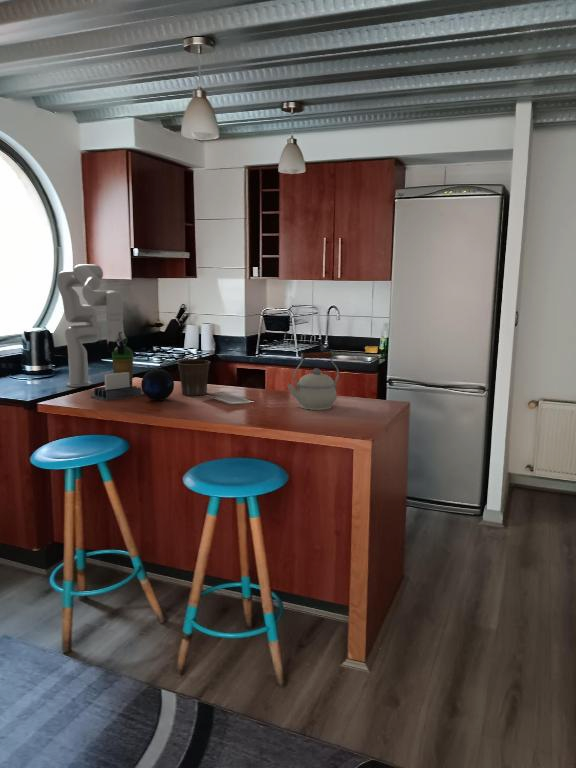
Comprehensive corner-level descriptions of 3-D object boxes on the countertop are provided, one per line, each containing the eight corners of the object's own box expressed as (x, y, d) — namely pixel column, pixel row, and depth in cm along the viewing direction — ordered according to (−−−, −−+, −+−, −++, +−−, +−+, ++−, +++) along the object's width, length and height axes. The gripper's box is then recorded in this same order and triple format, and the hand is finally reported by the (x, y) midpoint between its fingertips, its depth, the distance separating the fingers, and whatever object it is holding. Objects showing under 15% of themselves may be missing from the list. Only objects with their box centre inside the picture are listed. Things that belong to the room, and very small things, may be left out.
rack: (90, 396, 303) (89, 388, 302) (130, 391, 317) (130, 383, 317) (103, 401, 293) (103, 392, 292) (145, 395, 307) (145, 387, 307)
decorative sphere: (138, 403, 288) (137, 371, 285) (145, 397, 302) (144, 366, 300) (171, 403, 288) (171, 371, 286) (176, 397, 303) (175, 366, 300)
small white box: (105, 395, 302) (104, 374, 300) (127, 392, 310) (127, 372, 308) (107, 395, 300) (106, 375, 298) (129, 392, 308) (129, 372, 306)
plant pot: (205, 397, 303) (204, 364, 300) (173, 396, 305) (172, 363, 302) (214, 391, 318) (214, 360, 315) (183, 390, 321) (183, 359, 318)
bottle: (109, 389, 321) (106, 335, 316) (120, 386, 331) (118, 333, 326) (127, 390, 318) (125, 335, 313) (138, 387, 328) (136, 334, 323)
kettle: (329, 401, 296) (330, 349, 291) (346, 409, 279) (348, 354, 275) (279, 405, 287) (280, 351, 283) (294, 413, 270) (295, 356, 266)
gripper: (98, 316, 302) (100, 351, 305) (116, 319, 290) (117, 355, 293) (113, 315, 307) (114, 350, 310) (130, 318, 295) (132, 354, 298)
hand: (115, 353), depth 301 cm, fingers open, 9 cm apart
